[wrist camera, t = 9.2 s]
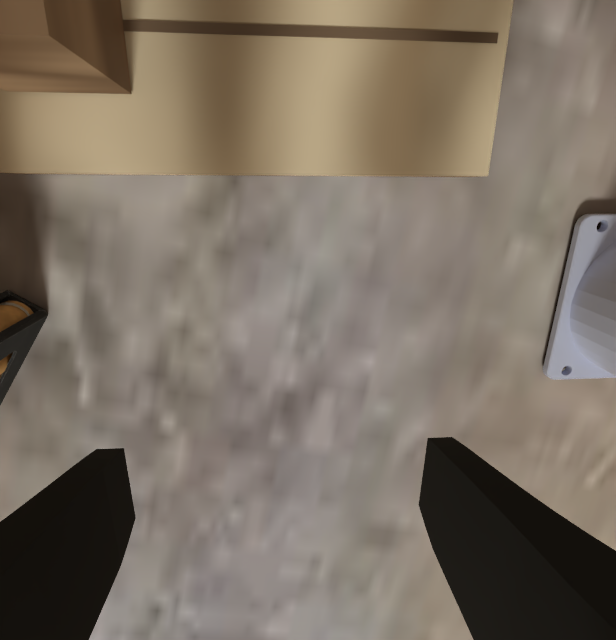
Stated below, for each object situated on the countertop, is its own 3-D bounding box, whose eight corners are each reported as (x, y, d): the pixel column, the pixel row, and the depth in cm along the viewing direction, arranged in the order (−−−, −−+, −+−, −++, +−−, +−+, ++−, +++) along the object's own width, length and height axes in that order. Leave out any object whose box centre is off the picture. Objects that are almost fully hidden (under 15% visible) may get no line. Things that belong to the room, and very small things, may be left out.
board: (506, -99, 13) (534, -134, 12) (469, 176, 16) (488, 175, 15) (-44, -133, 12) (-88, -176, 11) (23, 173, 15) (-4, 172, 14)
